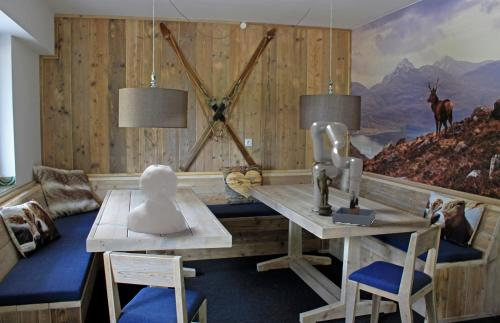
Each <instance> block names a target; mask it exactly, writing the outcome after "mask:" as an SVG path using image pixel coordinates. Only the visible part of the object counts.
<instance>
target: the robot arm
mask: <svg viewBox="0 0 500 323" xmlns="http://www.w3.org/2000/svg"><path fill="white" fill-rule="evenodd" d="M348 129H349V128H348V126H347V125H346V124H344V123H341V122H337V121H315V122H313V123H312V125H311V126H310V129H309V130H310V137H311V140H312V151H313V159H314V161H315V162H316V163H318V164H315V165H314V166H313V167H312V174H313V175H312V176H313V206H312V207H311V208H310V210H311V209H312V210H319V208H318V206H321V204H322V200H321V195H320V192H319V189H318V186H317V181H316V178H317V177H318V176H320V175H321V172H320V170H321V169H322V168H324V169H326V173H325V175H327V176H329V177H330V178H331V179H333V178H336V177H337V176H338V174H339V170H349V172H348V173H349V175H348V182H349V191H348V198H349V199H350V200H349V208H351V209H355V206H357V207H359V198H360V189H361V188H360V187H361V186H360V185H361V183H362V182H363V166H364V165H363V164H364V162H363V161H364V160H363V159H362V158H357V157H354V156H341V155H340V153H339V150H341V149H342V148H344V147H345V145H346V144H347V142H346V140H345V137H346V136H347V135H348V133H349V130H348ZM323 135H327V137H328V139H329V142H330V144H331V145H332V147H327V146H326V144H327V143H326V140H325V137H324V136H323ZM324 162H326V163H324ZM319 184H320V182H319ZM327 184H329V183H328V181H327ZM320 187H321V185H320ZM325 197H326V195H324V205H325V204H326V202H325ZM312 210H311V211H312Z"/></svg>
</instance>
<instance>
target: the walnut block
mask: <svg viewBox="0 0 500 323" xmlns="http://www.w3.org/2000/svg"><path fill="white" fill-rule="evenodd" d="M360 207H361V206H355V209H351V208H350V207H349V208H350V215H359V209H361V208H360Z"/></svg>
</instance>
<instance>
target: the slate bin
mask: <svg viewBox="0 0 500 323" xmlns="http://www.w3.org/2000/svg"><path fill="white" fill-rule="evenodd" d="M376 211H377V210H376V209H369V208H368V209H367V208H360V209H359V215H350V207H344V206H340V207H339V208H338V209H336V210H335V211H334V212H332V220H331V221H332V222H341V223H350V224H359V225H365V226H366V227H367V228H370V227H371V226H372V225H371V223H372V221H373V220H374V219H375V220H376ZM332 222H331V223H332ZM372 224H373V223H372ZM370 225H371V226H370Z"/></svg>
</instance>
